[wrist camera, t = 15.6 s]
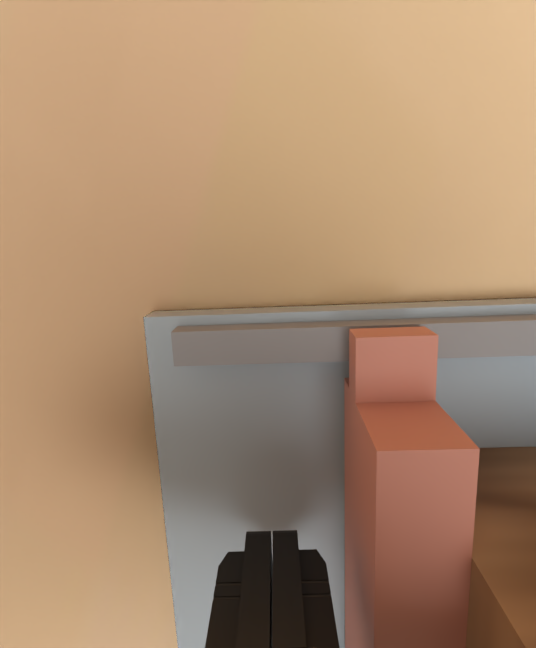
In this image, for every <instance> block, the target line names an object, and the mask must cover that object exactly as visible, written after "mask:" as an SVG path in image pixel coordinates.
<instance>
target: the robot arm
mask: <svg viewBox="0 0 536 648" xmlns="http://www.w3.org/2000/svg"><path fill="white" fill-rule="evenodd" d="M205 648H340V647H339V641H338V635H337V628H336V622H335V616H334V609H333V603H332V597H331V590H330V584H329V578H328V571H327V565H326V562H325V561H324V559H323V558H322V556H321V555H320V553H319V552H318V551H317V549H307V550H299V546H298V533H297V530H279V531H273V560H272V539H271V531H247V532H246V539H245V550H244V551H237V552H228V553H227V554H226V556H225V557H224V559H223V560H222V561H221V563H220V564H219V566H218V572H217V578H216V586H215V590H214V596H213V602H212V608H211V614H210V620H209V626H208V632H207V638H206V644H205Z"/></svg>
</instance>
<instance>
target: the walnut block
mask: <svg viewBox="0 0 536 648" xmlns="http://www.w3.org/2000/svg"><path fill="white" fill-rule="evenodd" d="M466 648H536V447H497V448H480V453H479V467H478V481H477V494H476V508H475V522H474V536H473V550H472V564H471V578H470V592H469V606H468V620H467V634H466Z"/></svg>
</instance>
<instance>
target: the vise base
mask: <svg viewBox="0 0 536 648" xmlns="http://www.w3.org/2000/svg"><path fill="white" fill-rule="evenodd" d="M143 318H144V328H145V337H146V347H147V356H148V366H149V376H150V385H151V395H152V404H153V414H154V423H155V433H156V442H157V452H158V461H159V471H160V480H161V490H162V500H163V509H164V519H165V528H166V538H167V547H168V557H169V566H170V576H171V585H172V595H173V604H174V614H175V624H176V633H177V643H178V648H205V644H206V638H207V632H208V626H209V620H210V614H211V608H212V602H213V596H214V590H215V586H216V578H217V572H218V566H219V564H220V563H221V561H222V560H223V559H224V557H225V556H226V554H227V553H228V552H237V551H244V550H245V539H246V532H247V531H271V539H272V560H273V531H279V530H297V533H298V546H299V550H307V549H317V551H318V552H319V553H320V555H321V556H322V558H323V559H324V561H325V562H326V565H327V571H328V578H329V584H330V590H331V597H332V603H333V609H334V616H335V622H336V628H337V635H338V641H339V647H340V648H345V459H344V378H349V329H360V328H390V327H420V326H425V327H427V328H428V329H430V330H431V331H433V332H434V333H436V334H437V335H439V337H438V358H437V380H436V402H437V403H438V404H439V405H440V406H441V407H442V408H443V410H444V411H445V412H446V413H447V414H448V415H449V416H450V417H451V418H452V419H453V420H454V421H455V423H456V424H457V425H458V426H459V427H460V428H461V429H462V430H463V431H464V432H465V433H466V434H467V435H468V437H469V438H470V439H471V440H472V441H473V442H474V443H475V444H476V445H477V446H478V447H479V448H497V447H536V298H516V299H487V300H459V301H430V302H402V303H373V304H345V305H316V306H288V307H259V308H231V309H202V310H173V311H153V312H151V313H150V314H148V315H146V316H145V317H143Z"/></svg>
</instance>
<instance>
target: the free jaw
mask: <svg viewBox="0 0 536 648" xmlns="http://www.w3.org/2000/svg"><path fill="white" fill-rule="evenodd" d="M438 337H439V335H437V334H436V333H434V332H433V331H431V330H430V329H428V328H427V327H425V326H420V327H390V328H360V329H349V378H344V459H345V648H466V634H467V620H468V606H469V592H470V578H471V564H472V550H473V536H474V522H475V508H476V494H477V481H478V467H479V453H480V448H479V447H478V446H477V445H476V444H475V443H474V442H473V441H472V440H471V439H470V438H469V437H468V435H467V434H466V433H465V432H464V431H463V430H462V429H461V428H460V427H459V426H458V425H457V424H456V423H455V421H454V420H453V419H452V418H451V417H450V416H449V415H448V414H447V413H446V412H445V411H444V410H443V408H442V407H441V406H440V405H439V404H438V403H437V402H436V380H437V358H438Z"/></svg>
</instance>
